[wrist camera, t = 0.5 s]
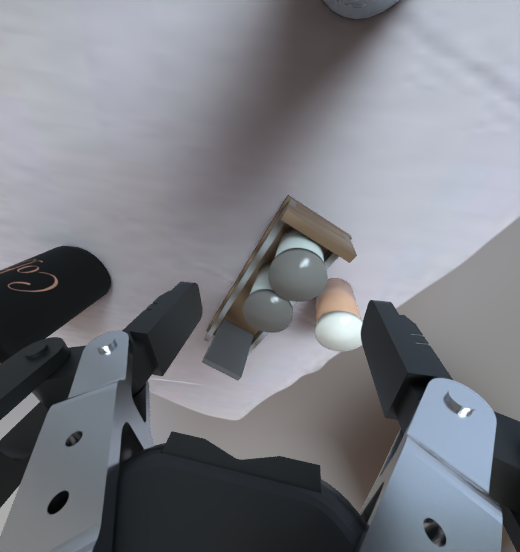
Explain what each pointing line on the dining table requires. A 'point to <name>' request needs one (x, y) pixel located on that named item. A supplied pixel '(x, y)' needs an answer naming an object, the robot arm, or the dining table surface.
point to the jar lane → (288, 216)
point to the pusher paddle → (229, 349)
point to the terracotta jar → (338, 317)
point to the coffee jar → (47, 295)
